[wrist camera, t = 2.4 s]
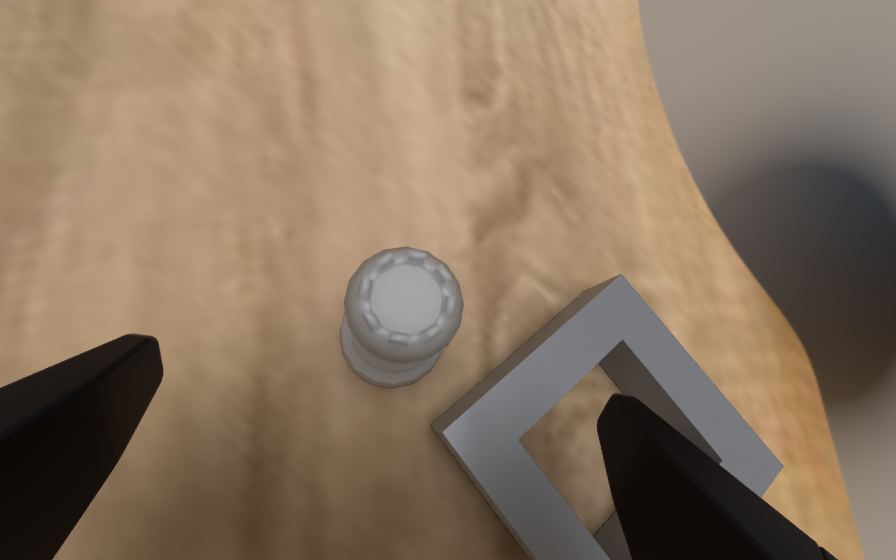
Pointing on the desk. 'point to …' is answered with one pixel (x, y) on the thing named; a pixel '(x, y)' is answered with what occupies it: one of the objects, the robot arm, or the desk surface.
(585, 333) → the hollow square block
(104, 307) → the desk surface
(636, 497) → the robot arm
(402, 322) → the rook chess piece
